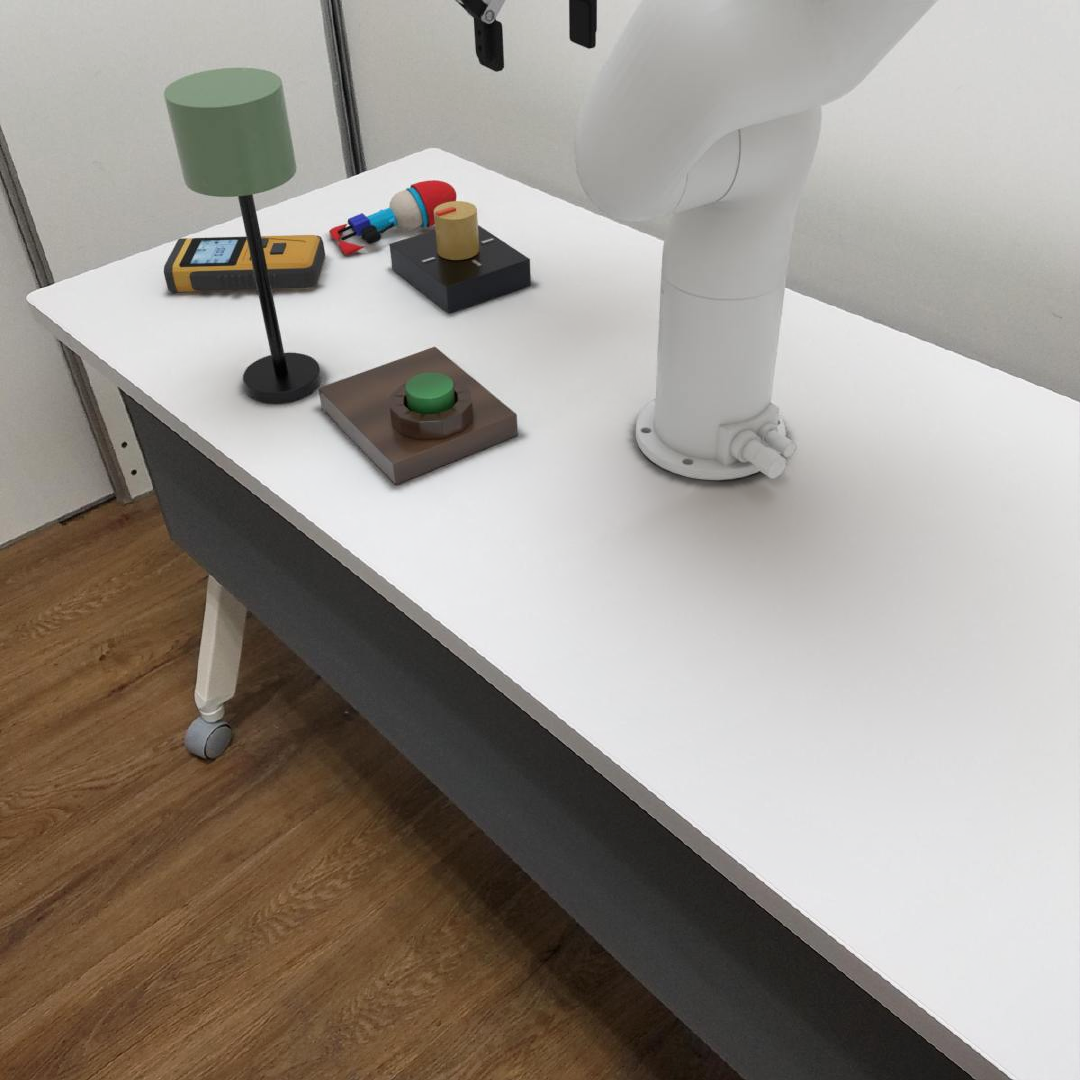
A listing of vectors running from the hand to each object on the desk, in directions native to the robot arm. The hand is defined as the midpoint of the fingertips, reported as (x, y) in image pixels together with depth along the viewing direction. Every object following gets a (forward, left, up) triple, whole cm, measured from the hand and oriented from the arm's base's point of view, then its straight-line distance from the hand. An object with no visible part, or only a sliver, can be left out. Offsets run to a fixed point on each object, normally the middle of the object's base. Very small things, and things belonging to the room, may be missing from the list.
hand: (537, 55), depth 100 cm
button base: (-11, +21, -24) cm, 34 cm away
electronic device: (+24, +22, -24) cm, 41 cm away
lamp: (+2, +28, -24) cm, 37 cm away
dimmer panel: (+10, +4, -24) cm, 27 cm away
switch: (-14, +21, -21) cm, 33 cm away
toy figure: (+24, +4, -24) cm, 35 cm away
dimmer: (+10, +4, -21) cm, 24 cm away
